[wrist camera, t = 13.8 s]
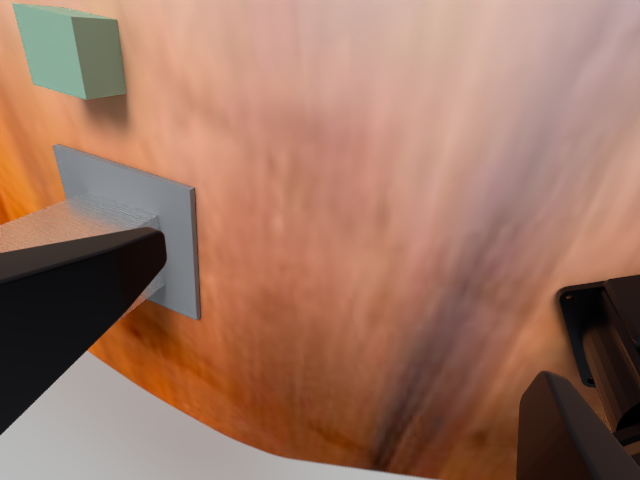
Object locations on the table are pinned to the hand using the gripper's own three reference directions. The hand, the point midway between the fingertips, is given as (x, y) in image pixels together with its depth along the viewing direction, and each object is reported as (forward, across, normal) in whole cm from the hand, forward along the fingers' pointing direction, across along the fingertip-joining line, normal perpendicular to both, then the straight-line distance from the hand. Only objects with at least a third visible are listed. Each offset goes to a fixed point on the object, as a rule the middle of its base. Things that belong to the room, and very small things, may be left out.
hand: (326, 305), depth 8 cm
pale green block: (+12, +20, -2) cm, 23 cm away
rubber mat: (+12, +19, +11) cm, 25 cm away
